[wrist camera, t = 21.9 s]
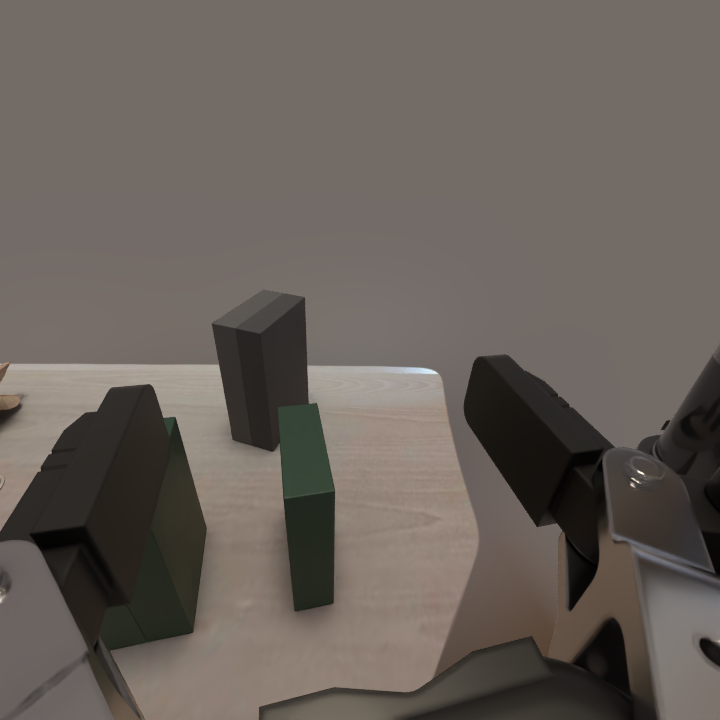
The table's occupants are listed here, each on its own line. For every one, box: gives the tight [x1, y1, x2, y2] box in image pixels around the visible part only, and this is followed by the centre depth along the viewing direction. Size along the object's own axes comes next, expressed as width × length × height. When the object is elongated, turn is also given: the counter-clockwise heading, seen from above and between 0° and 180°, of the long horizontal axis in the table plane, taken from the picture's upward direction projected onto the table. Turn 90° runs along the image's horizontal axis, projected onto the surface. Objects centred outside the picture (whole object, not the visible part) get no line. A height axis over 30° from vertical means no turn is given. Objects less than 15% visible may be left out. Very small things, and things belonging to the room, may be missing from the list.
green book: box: [278, 403, 335, 611], centre depth 31 cm, size 3×9×14 cm, turn 13°
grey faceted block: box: [212, 290, 308, 451], centre depth 46 cm, size 6×10×16 cm, turn 162°
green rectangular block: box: [99, 417, 206, 650], centre depth 28 cm, size 6×9×14 cm
